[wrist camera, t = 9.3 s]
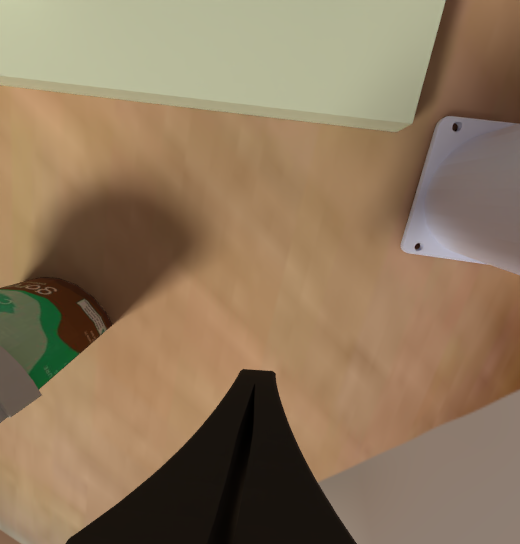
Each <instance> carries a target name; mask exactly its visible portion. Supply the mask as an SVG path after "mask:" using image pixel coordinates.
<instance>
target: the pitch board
mask: <svg viewBox="0 0 520 544" xmlns="http://www.w3.org/2000/svg"><path fill="white" fill-rule="evenodd" d="M445 1H446V0H0V85H3V86H11V87H20V88H28V89H37V90H45V91H53V92H62V93H70V94H79V95H87V96H95V97H104V98H112V99H121V100H129V101H137V102H146V103H154V104H163V105H171V106H179V107H188V108H196V109H205V110H213V111H221V112H230V113H238V114H247V115H255V116H263V117H272V118H280V119H289V120H297V121H305V122H314V123H322V124H331V125H339V126H348V127H356V128H364V129H373V130H381V131H390V132H398V131H400V130H402V129H404V128H406V127H407V126H409V125H411V124H412V123H413V119H414V116H415V112H416V108H417V105H418V101H419V97H420V94H421V90H422V86H423V82H424V79H425V75H426V71H427V68H428V64H429V60H430V57H431V53H432V49H433V46H434V42H435V38H436V34H437V31H438V27H439V23H440V20H441V16H442V12H443V9H444V5H445Z"/></svg>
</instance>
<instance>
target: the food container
mask: <svg viewBox="0 0 520 544" xmlns="http://www.w3.org/2000/svg"><path fill="white" fill-rule="evenodd" d="M111 326H112V324H111V322H110V320H109V318H108V316H107V314H106V312H105V311H104V310H103V308H102V307H101V306H100V305H99V304H98V302H97V301H96V300H95V299H94V298H93V297H92V296H91V295H89V294H88V293H87V292H85V291H84V290H83V289H81V288H80V287H79V286H77V285H74V284H72V283H70V282H67V281H65V280H62V279H58V278H50V277H43V278H36V279H32V280H29V281H25V282H21V283H17V284H14V285H10V286H6V287H2V288H0V423H1V422H2V421H3V420H5V419H6V418H7V417H12V416H13V415H15V414H16V413H18V412H19V411H20V410H22V409H23V408H25V407H26V406H27V405H29V404H30V403H32V402H33V401H34V400H36V399H37V398H39V397H40V396H41V393H40V391H39V389H40V388H41V387H42V386H43V385H45V384H46V383H47V382H48V381H49V380H50V379H51V378H53V377H54V376H55V375H56V374H57V373H58V372H59V371H61V370H62V369H63V368H64V367H65V366H66V365H67V364H69V363H70V362H71V361H72V360H73V359H74V358H75V357H77V356H78V355H79V354H80V353H81V352H82V351H83V350H84V349H86V348H87V347H88V346H89V345H90V344H91V343H92V342H94V341H95V340H96V339H97V338H98V337H99V336H100V335H102V334H103V333H104V332H105V331H106V330H107V329H108V328H110V327H111Z"/></svg>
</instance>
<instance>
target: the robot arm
mask: <svg viewBox="0 0 520 544" xmlns="http://www.w3.org/2000/svg"><path fill="white" fill-rule="evenodd" d="M454 123H455V124H457V126H458V129H457V131H456V132H455V131H453V129H452V126H453V124H454ZM417 243H420V247H419V248H418V249H417V250H415V245H416V244H417ZM401 249H402V250H403V251H404V252H406V253H411V254H418V255H425V256H432V257H439V258H446V259H453V260H460V261H467V262H474V263H481V264H489V265H492V266H495V267H498V268H501V269H503V270H506V271H509V272H512V273H515V274H518V275H520V123H519V124H517V123H508V122H500V121H491V120H482V119H474V118H465V117H456V116H446V117H444V118H442V119H440V120H439V121H438V122H437V124H436V127H435V130H434V134H433V137H432V140H431V144H430V147H429V150H428V154H427V157H426V161H425V164H424V167H423V171H422V174H421V177H420V181H419V184H418V188H417V191H416V194H415V198H414V201H413V204H412V208H411V211H410V215H409V218H408V221H407V225H406V228H405V232H404V235H403V238H402V242H401ZM66 544H357V543H356V542H355V541H354V539H353V538H352V536H351V535H350V533H349V532H348V530H347V529H346V527H345V526H344V524H343V523H342V521H341V520H340V519H339V517H338V516H337V514H336V512H335V511H334V509H333V507H332V506H331V504H330V503H329V501H328V499H327V498H326V496H325V494H324V493H323V491H322V489H321V488H320V486H319V484H318V483H317V481H316V479H315V477H314V476H313V474H312V472H311V470H310V468H309V466H308V465H307V463H306V461H305V459H304V457H303V455H302V453H301V451H300V449H299V446H298V444H297V442H296V440H295V438H294V435H293V433H292V431H291V428H290V426H289V423H288V421H287V418H286V415H285V412H284V409H283V407H282V404H281V400H280V397H279V393H278V389H277V384H276V374H275V373H274V372H273V371H262V370H247V369H243V370H241V371H240V373H239V375H238V377H237V378H236V380H235V382H234V383H233V385H232V386H231V388H230V389H229V391H228V392H227V394H226V395H225V397H224V398H223V399H222V401H221V402H220V403H219V405H218V406H217V408H216V409H215V410H214V411H213V413H212V414H211V415H210V416H209V418H208V419H207V420H206V421H205V422H204V424H203V425H202V426H201V427H200V428H199V430H198V431H197V432H196V433H195V434H194V435H193V436H192V437H191V438H190V439H189V440H188V442H187V443H186V444H185V445H184V446H183V447H182V448H181V449H180V450H179V451H178V452H177V453H176V454H175V455H174V456H173V457H171V458H170V459H169V460H168V461H167V462H166V463H165V464H164V465H163V466H162V467H161V468H160V469H159V470H158V471H156V472H155V473H154V474H153V475H152V476H151V477H150V478H148V479H147V480H146V481H145V482H143V483H142V484H141V485H140V486H139V487H137V488H136V489H135V490H134V491H133V492H131V493H130V494H129V495H128V496H126V497H125V498H124V499H123V500H122V501H120V502H119V503H118V504H116V505H115V506H114V507H112V508H111V509H110V510H108V511H107V512H105V513H104V514H103V515H101V516H100V517H99V518H97V519H96V520H94V521H93V522H92V523H90V524H89V525H88V526H86V527H85V528H83V529H82V530H81V531H79V532H78V533H76V534H75V535H73V536H72V537H71V538H69V539H68V541H67V542H66Z"/></svg>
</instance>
